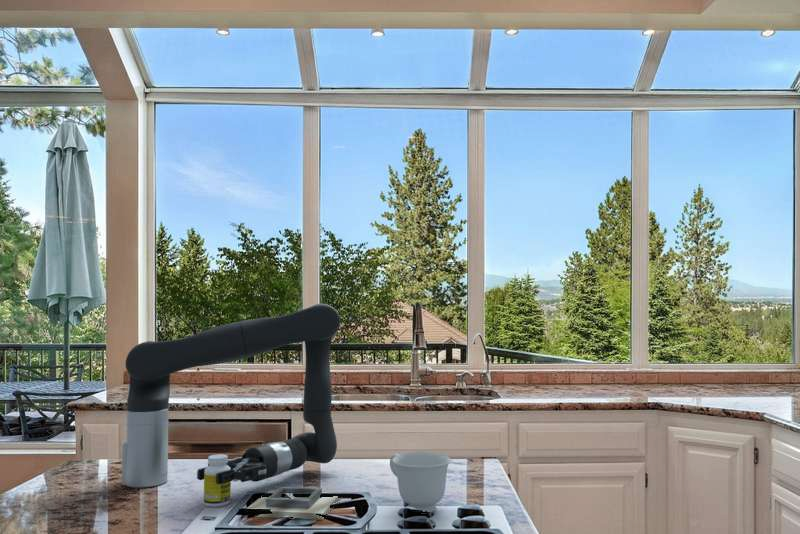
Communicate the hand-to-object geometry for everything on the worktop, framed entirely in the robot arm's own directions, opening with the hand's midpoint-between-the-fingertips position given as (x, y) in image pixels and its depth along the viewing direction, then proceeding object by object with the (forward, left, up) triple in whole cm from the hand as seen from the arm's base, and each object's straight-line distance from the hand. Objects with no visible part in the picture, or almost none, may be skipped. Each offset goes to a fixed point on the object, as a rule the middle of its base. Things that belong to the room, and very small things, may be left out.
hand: (207, 476), depth 131 cm
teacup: (+43, +5, -6) cm, 44 cm away
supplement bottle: (+1, +2, -6) cm, 7 cm away
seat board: (+18, +2, -6) cm, 19 cm away
